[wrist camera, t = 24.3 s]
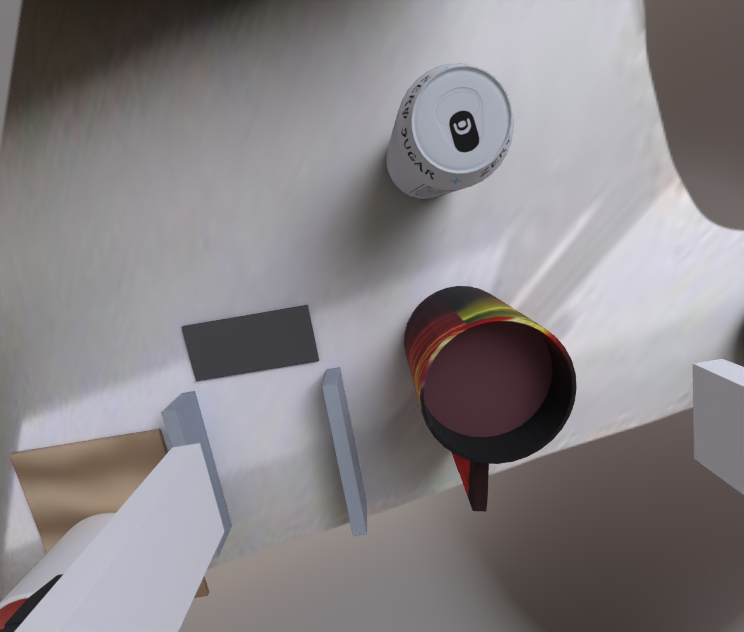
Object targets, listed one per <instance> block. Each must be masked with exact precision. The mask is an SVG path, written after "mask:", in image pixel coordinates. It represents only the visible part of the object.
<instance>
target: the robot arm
mask: <svg viewBox="0 0 744 632" xmlns="http://www.w3.org/2000/svg"><path fill="white" fill-rule="evenodd" d="M693 410H694V459H696V460H697V461H698V462H700V463H701V464H702V465H704V466H705V467H706V468H708V469H709V470H710V471H712V472H714V474H716V475H717V476H719V477H720V478H721V479H723V480H724V481H725V482H727V483H728V484H729V485H731V486H732V487H734V488H735V489H736V490H738V491H739V492H740V493H741V494H743V495H744V367H742V366H740V365H737V364H735V363H732V362H730V361H727V360H724V359H718V360H712V361H706V362H699V363H693ZM223 534H224V528H223V524H222V520H221V517H220V513H219V510H218V506H217V503H216V499H215V495H214V492H213V488H212V485H211V481H210V477H209V474H208V470H207V467H206V463H205V459H204V456H203V452H202V449H201V445H200V443H197V444H191V445H185V446H179V447H173V448H171V450H170V451H169V452H168V453H167V454H166V455H165V457H164V458H163V459H162V460H161V461H160V462H159V464H158V465H157V466H156V467H155V468H154V469H153V471H152V472H151V473H150V474H149V475H148V476H147V478H146V479H145V480H144V481H143V482H142V483H141V485H140V486H139V487H138V488H137V489H136V490H135V492H134V493H133V494H132V495H131V496H130V497H129V499H128V500H127V501H126V502H125V503H124V504H123V506H122V507H121V508H120V509H119V510H118V511H117V513H116V514H115V515H114V516H113V517H112V518H111V520H110V521H109V522H108V523H107V524H106V525H105V527H104V528H103V529H102V530H101V531H100V532H99V533H98V535H97V536H96V537H95V538H94V539H93V540H92V542H91V543H90V544H89V545H88V546H87V547H86V549H85V550H84V551H83V552H82V553H81V554H80V556H79V557H78V558H77V559H76V560H75V561H74V563H73V564H72V565H71V566H70V567H69V568H68V570H67V571H66V572H65V573H64V574H60V575H57V576H55V577H54V578H53V579H52V580H50V581H49V582H48V583H47V584H45V585H44V586H43V587H41V588H40V589H39V590H38V591H36V592H35V593H34V594H33V595H31V596H30V597H29V598H28V599H27V600H26V601H25V602H24V603H23V604H22V605H21V606H20V608H19V609H18V610H17V611H16V612H15V613H14V614H13V615H12V616H11V618H10V619H9V620H8V621H7V622H6V623H5V626H4V629H0V632H178V631H179V629H180V627H181V625H182V623H183V620H184V618H185V616H186V614H187V612H188V609H189V607H190V605H191V603H192V601H193V598H194V596H195V594H196V592H197V590H198V588H199V586H200V583H201V581H202V579H203V577H204V575H205V573H206V570H207V568H208V566H209V564H210V562H211V560H212V557H213V555H214V553H215V551H216V549H217V547H218V544H219V542H220V540H221V538H222V536H223Z"/></svg>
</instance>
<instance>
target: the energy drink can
mask: <svg viewBox="0 0 744 632" xmlns="http://www.w3.org/2000/svg"><path fill="white" fill-rule="evenodd" d="M513 127H514V118H513V112H512V107H511V103H510V100H509V97H508V94H507V92H506V91H505V89H504V87H503V86H502V84H501V83H500V82H499V81H498V80H497V79H496V78H495V77H494V76H493V75H491V74H490V73H488V72H487V71H485V70H483V69H480V68H478V67H475V66H472V65H467V64H461V63H459V64H447V65H443V66H439V67H436V68H434V69H432V70H430V71H428V72H426V73H425V74H424V75H422V76H421V77H420V78H419V79H417V80H416V81H415V83H414V84H413V85H412V86H411V87H410V88H409V90H408V91H407V93H406V95H405V96H404V98H403V100H402V102H401V105H400V108H399V111H398V114H397V118H396V121H395V125H394V128H393V132H392V135H391V139H390V142H389V146H388V150H387V156H386V158H387V168H388V172H389V175H390V177H391V179H392V181H393V182H394V184H395V185H396V186H397V187H398V188H399V189H400V190H401V191H402V192H404V193H405V194H407V195H409V196H412V197H414V198H420V199H429V198H433V197H437V196H440V195H444V194H447V193H450V192H454V191H457V190H460V189H463V188H467V187H470V186H473V185H475V184H477V183H479V182H481V181H483V180H484V179H486V178H487V177H488V176H490V175H491V174H492V173H493V172H494V171H495V170H496V169H497V168H498V167H499V166H500V164H501V163H502V161H503V159H504V158H505V156H506V154H507V152H508V150H509V147H510V145H511V141H512V136H513Z"/></svg>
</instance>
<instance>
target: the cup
mask: <svg viewBox="0 0 744 632" xmlns="http://www.w3.org/2000/svg"><path fill="white" fill-rule="evenodd" d="M115 514H116V513H102V514H97V515H93V516H91V517H88V518H86V519H84V520H82V521H80V522H79V523H77V524H76V525H74V526H73V527H72V528H71V529H70V530H69V531H68V532H67V533H66V534H65V535H64V536H63V537H62V538H61V539H60V540H59V541H58V542H57V543H56V544H55V545H54V547H53V548H52V549H51V550H50V551H49V552H48V553H47V554H46V555H45V556H44V557H43V558H42V559H41V560H40V561H39V562H38V563H37V564H36V565H35V566H34V567H33V568H32V569H31V570H30V572H29V573H28V574H27V575H26V576H25V577H24V578H23V579H22V580H21V581H20V582H19V583H18V584H17V585H16V586H15V587H14V588H13V589H12V590H11V591H10V592H9V593H8V594H7V595H6V597H5V598H4V599H3V600H2V601H1V602H0V629H4V626H5V623H6V622H7V621H8V620H9V619H10V618H11V616H12V615H13V614H14V613H15V612H16V611H17V610H18V609H19V608H20V606H21V605H22V604H23V603H24V602H25V601H26V600H27V599H28V598H29V597H30V596H31V595H33V594H34V593H35V592H36V591H38V590H39V589H40V588H41V587H43V586H44V585H45V584H47V583H48V582H49V581H50V580H52V579H53V578H54V577H55V576H57V575H60V574H64V573H65V572H66V571H67V570H68V568H69V567H70V566H71V565H72V564H73V563H74V561H75V560H76V559H77V558H78V557H79V556H80V554H81V553H82V552H83V551H84V550H85V549H86V547H87V546H88V545H89V544H90V543H91V542H92V540H93V539H94V538H95V537H96V536H97V535H98V533H99V532H100V531H101V530H102V529H103V528H104V527H105V525H106V524H107V523H108V522H109V521H110V520H111V518H112V517H113V516H114V515H115Z"/></svg>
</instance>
